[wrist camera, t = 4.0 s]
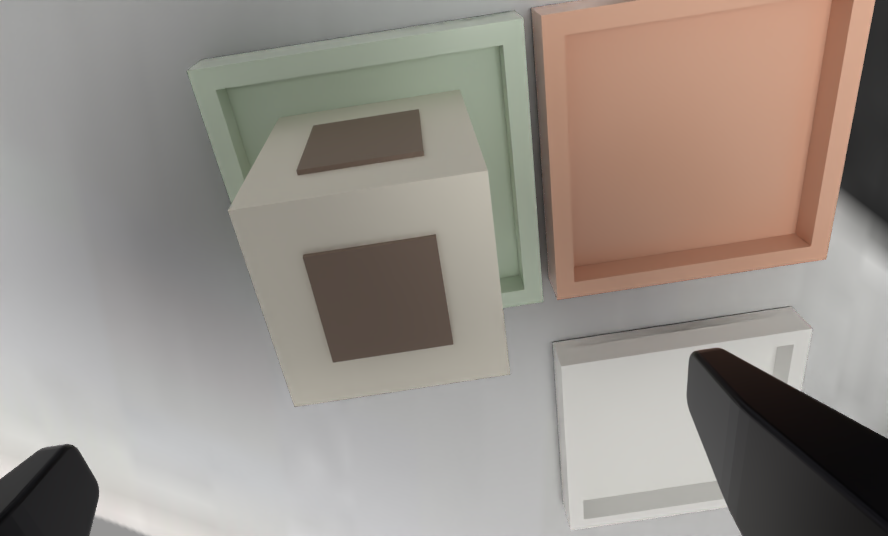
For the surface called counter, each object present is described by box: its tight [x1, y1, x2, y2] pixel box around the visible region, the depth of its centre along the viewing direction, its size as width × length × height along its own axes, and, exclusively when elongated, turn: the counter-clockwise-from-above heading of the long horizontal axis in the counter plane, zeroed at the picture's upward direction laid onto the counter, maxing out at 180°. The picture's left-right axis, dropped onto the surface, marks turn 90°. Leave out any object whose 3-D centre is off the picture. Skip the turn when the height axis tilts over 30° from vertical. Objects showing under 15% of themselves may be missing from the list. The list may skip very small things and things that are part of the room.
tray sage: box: [187, 11, 543, 308], centre depth 17 cm, size 8×8×1 cm
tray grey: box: [553, 307, 813, 531], centre depth 21 cm, size 8×8×1 cm
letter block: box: [228, 90, 510, 407], centre depth 14 cm, size 4×5×6 cm
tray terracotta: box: [531, 0, 875, 300], centre depth 16 cm, size 8×8×1 cm
